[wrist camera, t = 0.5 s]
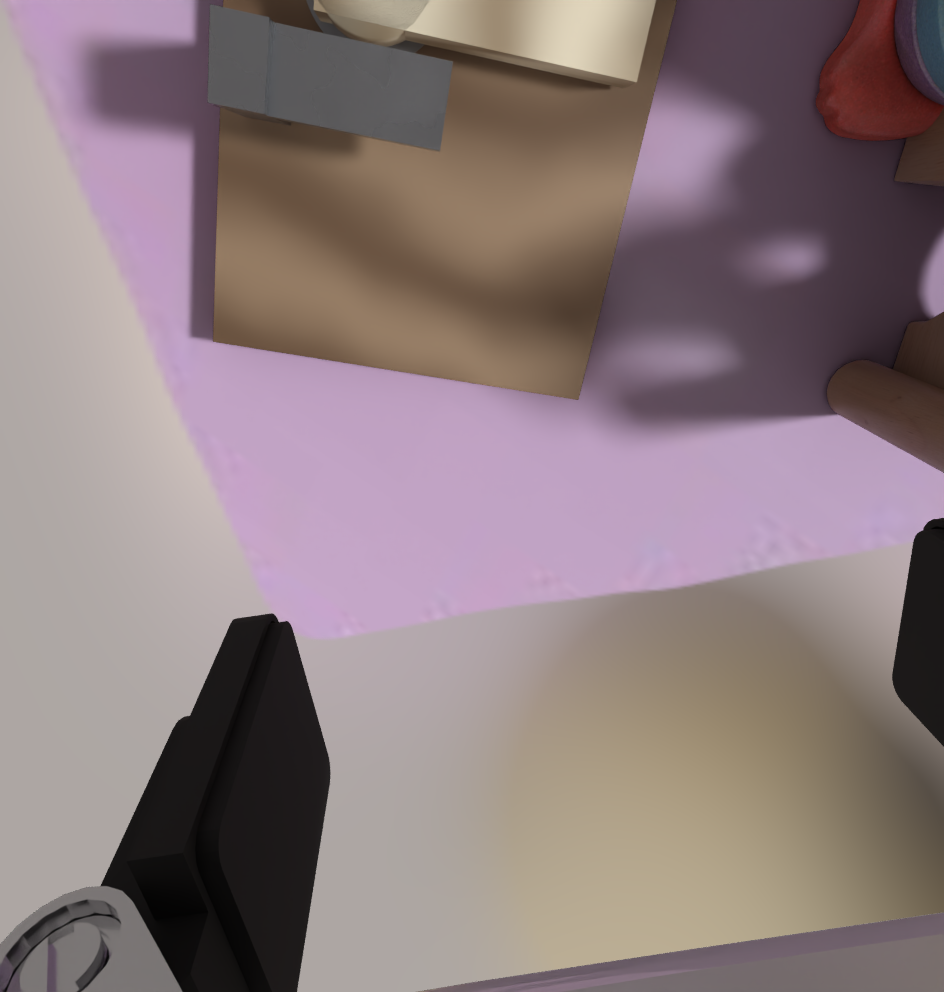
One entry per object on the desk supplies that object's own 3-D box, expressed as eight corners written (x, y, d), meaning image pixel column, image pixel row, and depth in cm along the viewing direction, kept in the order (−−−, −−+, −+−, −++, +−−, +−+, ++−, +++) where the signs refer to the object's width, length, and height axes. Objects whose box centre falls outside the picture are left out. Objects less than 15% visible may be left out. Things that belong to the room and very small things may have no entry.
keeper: (247, 35, 29) (209, 4, 24) (448, 79, 30) (453, 57, 25) (243, 116, 30) (207, 102, 25) (437, 155, 31) (440, 149, 26)
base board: (245, -383, 25) (234, -421, 23) (726, -242, 27) (744, -268, 26) (221, 335, 35) (211, 342, 34) (572, 392, 37) (579, 400, 36)
